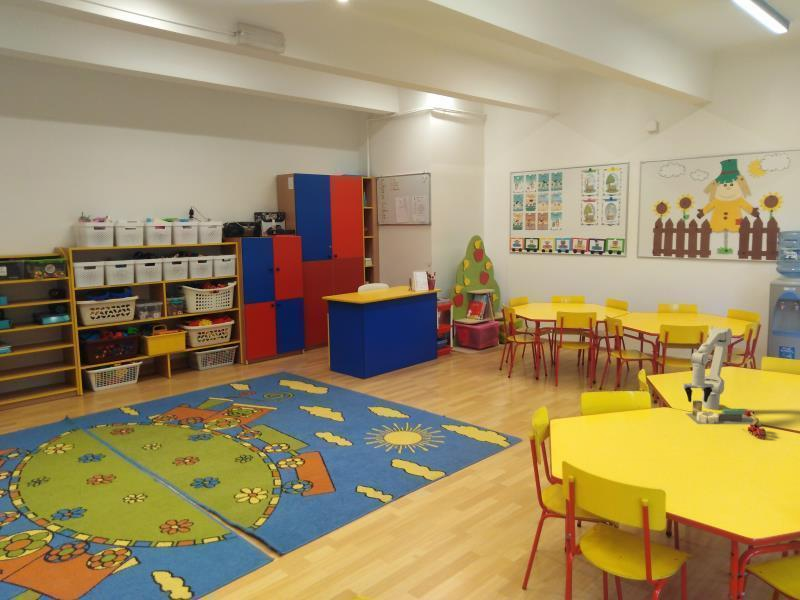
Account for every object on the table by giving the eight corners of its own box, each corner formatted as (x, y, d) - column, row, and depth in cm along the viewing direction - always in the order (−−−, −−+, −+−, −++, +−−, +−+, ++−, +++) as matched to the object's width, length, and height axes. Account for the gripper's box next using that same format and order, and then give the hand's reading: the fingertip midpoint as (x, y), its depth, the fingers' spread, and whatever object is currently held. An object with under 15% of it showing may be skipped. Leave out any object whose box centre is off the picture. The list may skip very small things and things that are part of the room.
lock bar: (721, 412, 301) (722, 408, 301) (747, 412, 300) (747, 408, 300) (724, 414, 298) (724, 410, 298) (749, 414, 297) (749, 410, 297)
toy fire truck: (759, 439, 277) (760, 419, 276) (743, 429, 291) (744, 409, 289) (766, 439, 277) (767, 419, 276) (750, 429, 291) (751, 409, 289)
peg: (691, 413, 311) (691, 400, 310) (699, 413, 311) (700, 400, 310) (694, 416, 307) (694, 402, 306) (702, 416, 307) (703, 402, 306)
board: (685, 415, 312) (685, 407, 311) (746, 415, 309) (746, 407, 308) (697, 426, 296) (697, 417, 295) (761, 426, 293) (762, 418, 292)
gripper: (686, 377, 303) (685, 404, 305) (716, 377, 301) (715, 404, 303) (681, 374, 310) (680, 399, 312) (710, 374, 308) (709, 399, 310)
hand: (697, 401), depth 308 cm, fingers open, 7 cm apart
